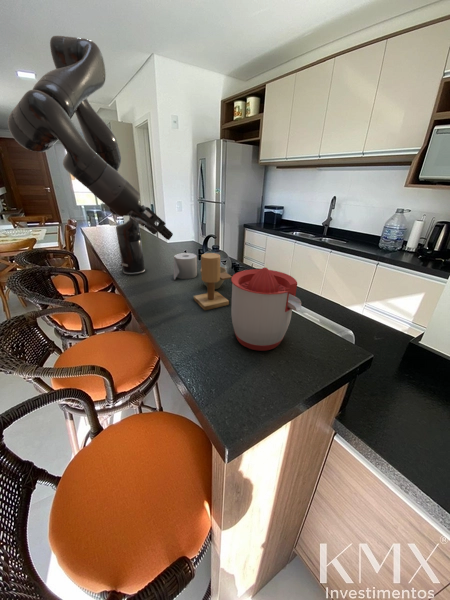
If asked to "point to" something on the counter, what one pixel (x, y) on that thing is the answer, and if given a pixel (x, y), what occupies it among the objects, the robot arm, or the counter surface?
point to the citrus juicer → (262, 307)
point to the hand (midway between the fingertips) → (163, 234)
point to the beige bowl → (219, 283)
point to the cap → (212, 268)
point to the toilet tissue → (185, 266)
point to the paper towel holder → (211, 298)
